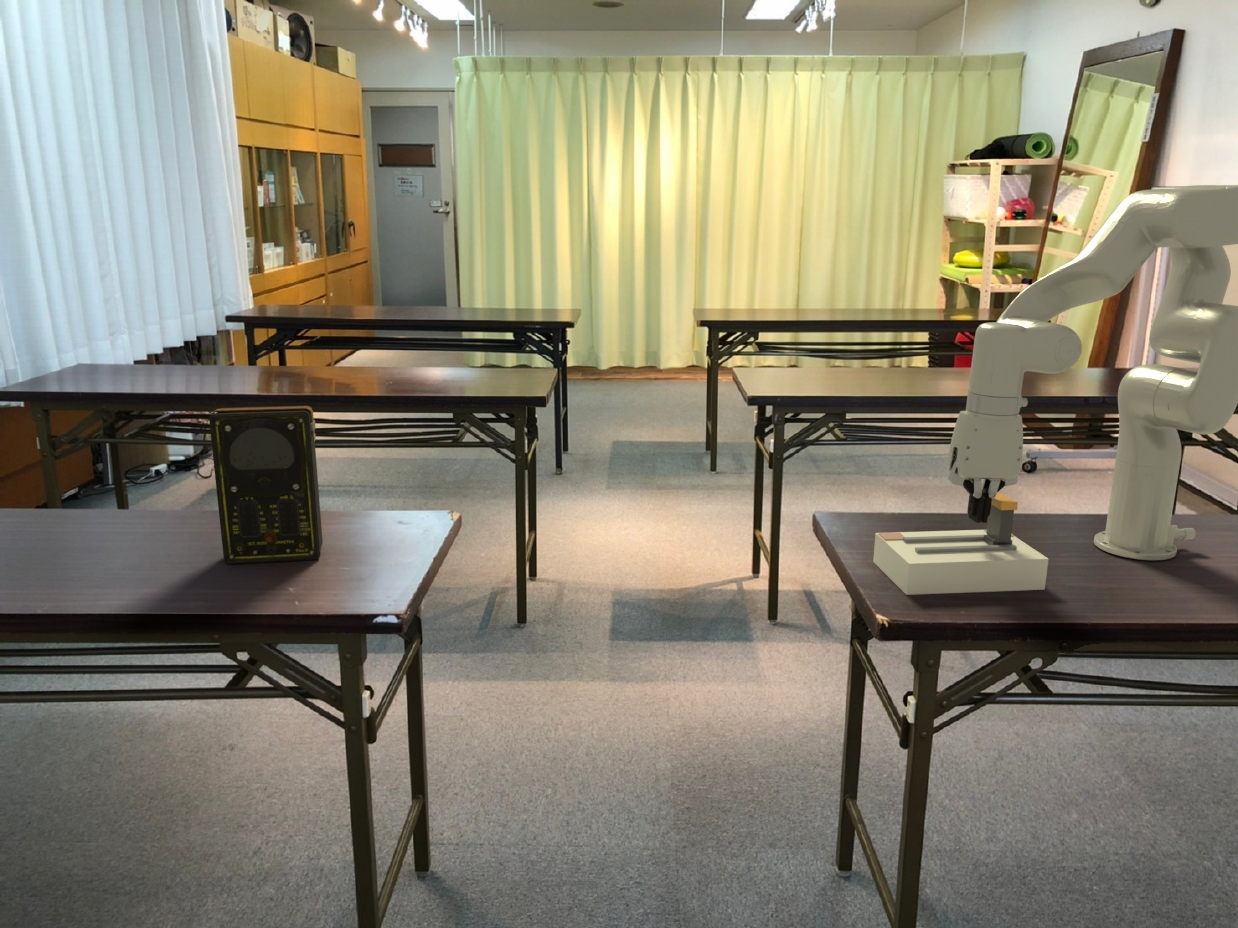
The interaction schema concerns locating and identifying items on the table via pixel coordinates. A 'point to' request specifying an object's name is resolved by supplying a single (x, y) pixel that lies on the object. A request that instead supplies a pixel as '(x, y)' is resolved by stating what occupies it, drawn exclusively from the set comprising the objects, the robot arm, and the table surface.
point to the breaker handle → (1000, 520)
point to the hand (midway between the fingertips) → (977, 520)
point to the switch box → (958, 562)
